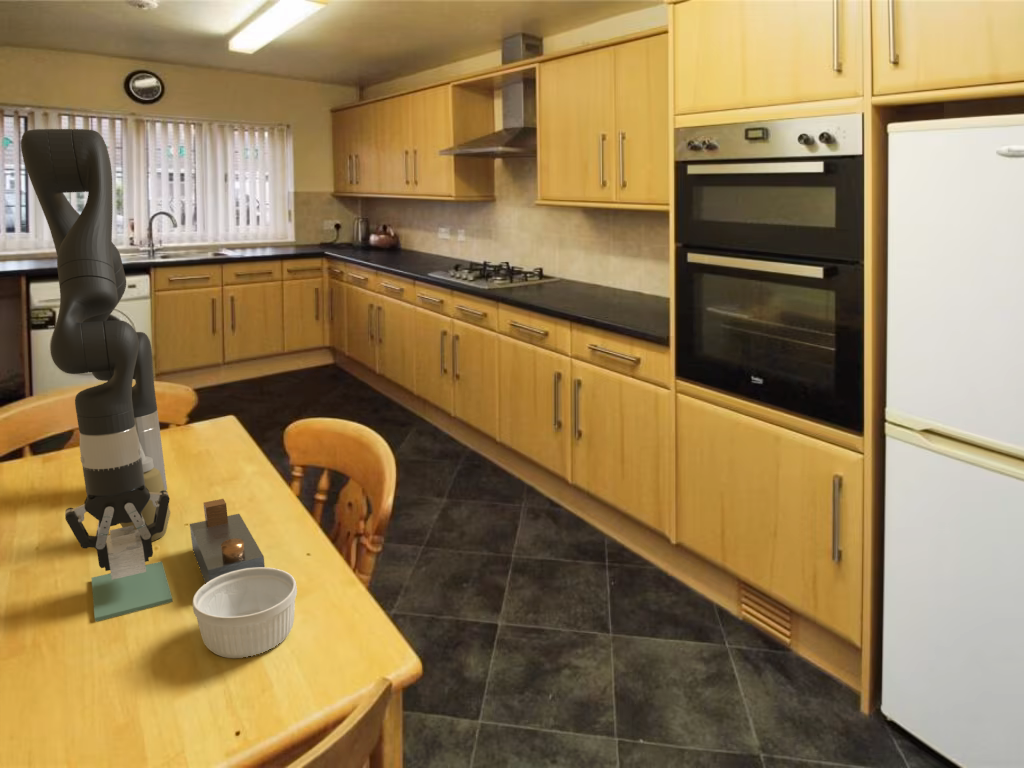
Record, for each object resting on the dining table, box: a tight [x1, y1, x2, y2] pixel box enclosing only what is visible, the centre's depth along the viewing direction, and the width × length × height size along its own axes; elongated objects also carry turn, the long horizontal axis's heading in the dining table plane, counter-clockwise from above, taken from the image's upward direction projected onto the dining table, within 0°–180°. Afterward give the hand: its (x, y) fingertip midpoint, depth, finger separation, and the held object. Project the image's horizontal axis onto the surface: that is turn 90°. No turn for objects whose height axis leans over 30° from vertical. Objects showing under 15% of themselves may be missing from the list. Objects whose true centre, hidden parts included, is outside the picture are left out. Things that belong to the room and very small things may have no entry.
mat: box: [91, 560, 174, 623], centre depth 107 cm, size 13×10×1 cm
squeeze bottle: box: [120, 442, 171, 542], centre depth 122 cm, size 8×8×18 cm
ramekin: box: [192, 566, 298, 659], centre depth 95 cm, size 13×13×7 cm
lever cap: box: [106, 525, 146, 580], centre depth 105 cm, size 7×4×5 cm, turn 32°
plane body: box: [189, 498, 266, 584], centre depth 113 cm, size 18×8×9 cm, turn 32°
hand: (126, 563), depth 105 cm, fingers closed on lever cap, 4 cm apart
